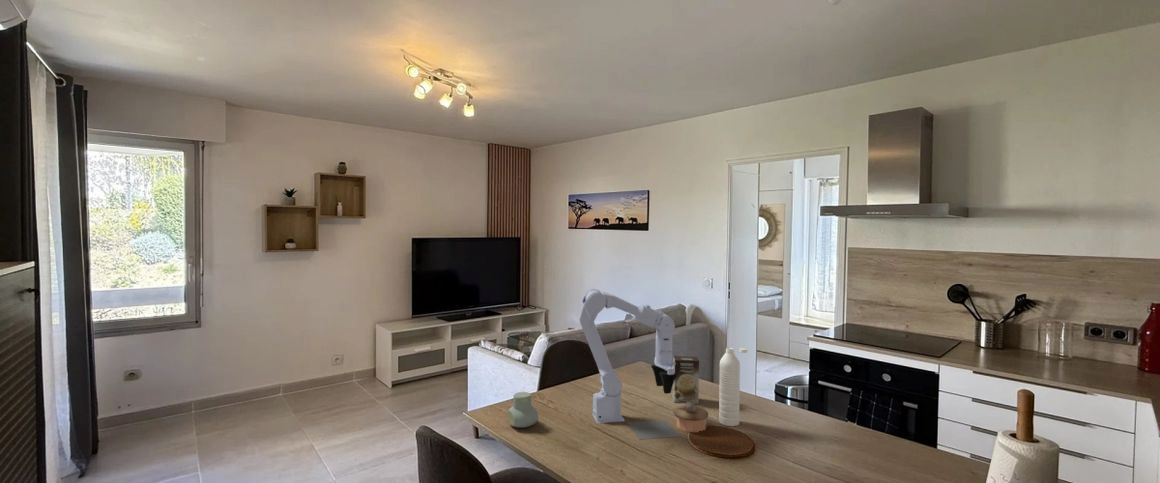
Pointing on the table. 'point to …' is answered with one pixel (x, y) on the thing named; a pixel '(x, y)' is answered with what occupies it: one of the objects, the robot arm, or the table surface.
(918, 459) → the table surface
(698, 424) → the bowl
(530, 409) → the air freshener
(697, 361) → the coffee box
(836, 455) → the table surface
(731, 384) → the water bottle
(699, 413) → the lid
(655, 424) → the mat
